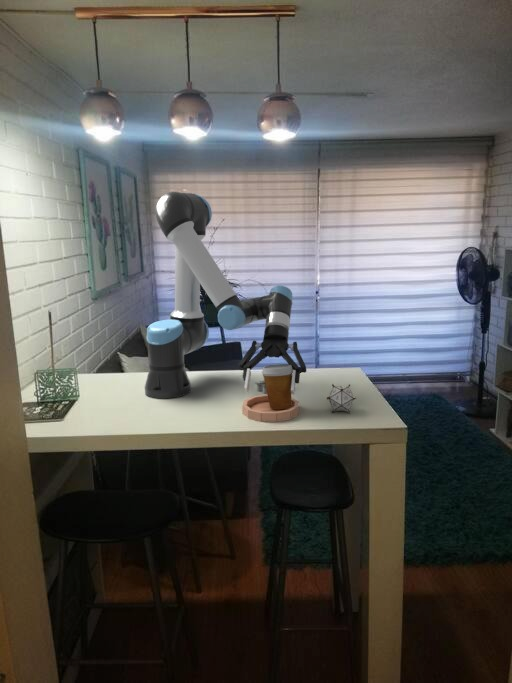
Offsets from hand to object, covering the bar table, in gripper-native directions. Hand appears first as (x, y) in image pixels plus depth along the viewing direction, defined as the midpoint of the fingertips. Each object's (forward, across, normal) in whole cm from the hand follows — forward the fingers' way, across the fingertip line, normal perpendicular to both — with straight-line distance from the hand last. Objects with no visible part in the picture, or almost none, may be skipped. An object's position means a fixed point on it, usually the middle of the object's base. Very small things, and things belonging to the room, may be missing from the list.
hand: (269, 391), depth 147 cm
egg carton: (-11, +3, -22) cm, 25 cm away
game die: (+1, -20, -9) cm, 22 cm away
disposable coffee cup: (+2, -3, -7) cm, 7 cm away
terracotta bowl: (+3, 0, -7) cm, 7 cm away
